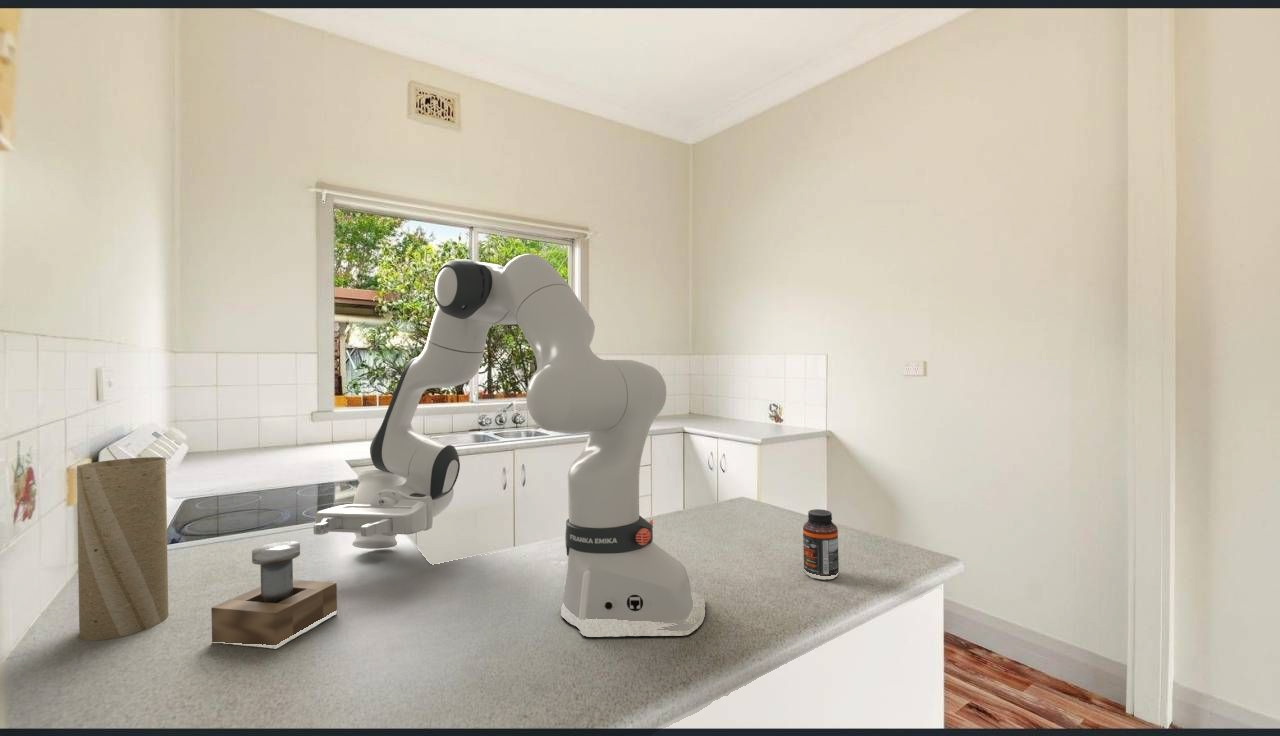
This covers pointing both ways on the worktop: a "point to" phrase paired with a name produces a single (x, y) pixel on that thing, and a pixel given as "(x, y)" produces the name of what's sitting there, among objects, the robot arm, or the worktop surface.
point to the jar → (365, 492)
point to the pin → (276, 569)
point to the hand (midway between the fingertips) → (340, 531)
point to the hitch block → (272, 614)
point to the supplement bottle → (820, 544)
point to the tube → (122, 546)
